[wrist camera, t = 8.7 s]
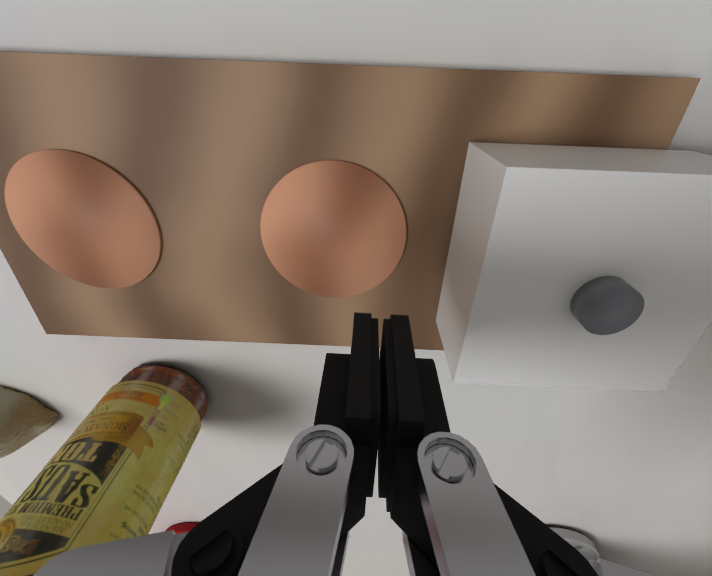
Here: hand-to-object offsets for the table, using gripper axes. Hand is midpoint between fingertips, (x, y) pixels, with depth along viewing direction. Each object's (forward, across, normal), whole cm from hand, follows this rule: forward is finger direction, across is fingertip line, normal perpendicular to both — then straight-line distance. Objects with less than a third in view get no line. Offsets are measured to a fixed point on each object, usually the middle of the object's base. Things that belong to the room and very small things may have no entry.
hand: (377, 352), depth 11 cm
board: (+9, +4, -1) cm, 9 cm away
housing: (+8, -8, -1) cm, 11 cm away
